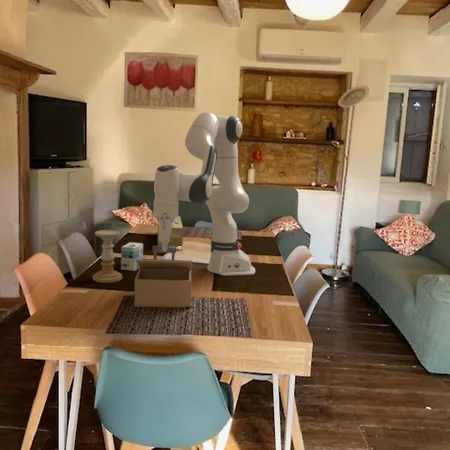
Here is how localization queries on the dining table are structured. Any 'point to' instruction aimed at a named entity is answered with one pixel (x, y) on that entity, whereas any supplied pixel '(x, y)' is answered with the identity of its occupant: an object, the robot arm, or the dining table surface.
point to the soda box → (174, 233)
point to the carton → (163, 287)
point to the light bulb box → (131, 256)
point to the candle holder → (107, 258)
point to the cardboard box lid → (164, 263)
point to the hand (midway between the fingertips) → (164, 249)
